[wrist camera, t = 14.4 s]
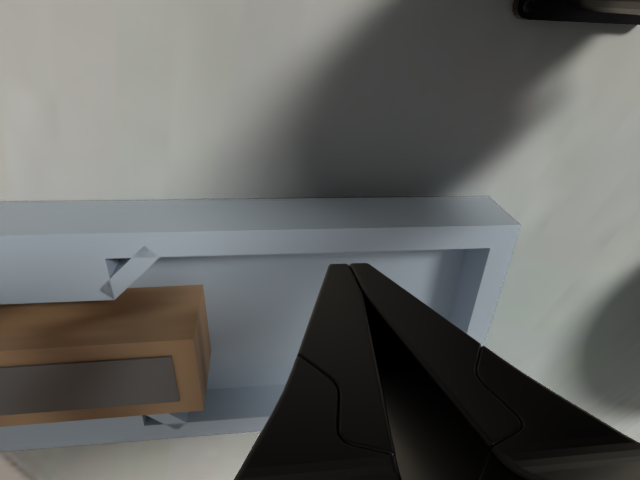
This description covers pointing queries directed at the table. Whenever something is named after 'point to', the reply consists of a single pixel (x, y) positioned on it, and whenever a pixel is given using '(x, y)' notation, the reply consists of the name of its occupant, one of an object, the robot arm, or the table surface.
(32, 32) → the table surface
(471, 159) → the table surface
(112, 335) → the bar
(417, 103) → the table surface
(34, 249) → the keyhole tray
